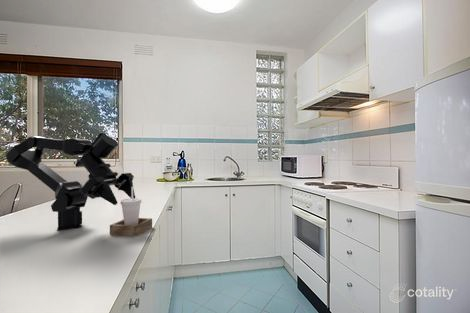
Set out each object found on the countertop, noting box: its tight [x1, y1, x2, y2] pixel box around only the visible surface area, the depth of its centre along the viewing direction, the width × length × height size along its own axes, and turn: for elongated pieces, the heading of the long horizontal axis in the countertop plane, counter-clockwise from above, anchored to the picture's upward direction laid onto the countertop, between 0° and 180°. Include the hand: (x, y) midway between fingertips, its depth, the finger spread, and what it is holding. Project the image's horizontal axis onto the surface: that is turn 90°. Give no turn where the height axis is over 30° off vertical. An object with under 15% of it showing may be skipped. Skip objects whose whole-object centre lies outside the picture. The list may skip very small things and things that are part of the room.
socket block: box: [109, 217, 153, 237], centre depth 77 cm, size 9×9×3 cm
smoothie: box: [119, 186, 142, 226], centre depth 77 cm, size 6×6×14 cm
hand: (125, 201), depth 77 cm, fingers open, 9 cm apart
